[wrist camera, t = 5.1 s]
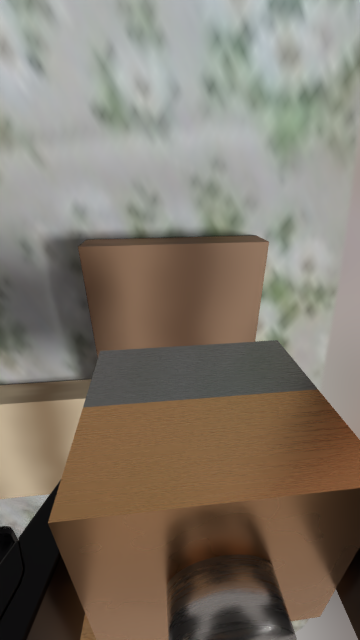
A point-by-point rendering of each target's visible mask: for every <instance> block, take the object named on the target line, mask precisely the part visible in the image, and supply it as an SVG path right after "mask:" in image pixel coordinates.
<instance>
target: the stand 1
mask: <svg viewBox="0 0 360 640" xmlns="http://www.w3.org/2000/svg"><path fill="white" fill-rule="evenodd" d="M90 383H91V379H86V380H71V381H56V382H41V383H26V384H11V385H0V499H6V498H16V497H26V496H36V495H46V494H51V492H52V491H53V490H54V488H55V487H56V485H57V484H58V483H59V481H60V480H61V478H62V475H63V472H64V468H65V465H66V462H67V458H68V455H69V452H70V449H71V445H72V442H73V439H74V435H75V432H76V429H77V425H78V422H79V419H80V416H81V412H82V409H83V406H84V402H85V399H86V396H87V393H88V389H89V386H90Z"/></svg>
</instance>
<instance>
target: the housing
mask: <svg viewBox="0 0 360 640" xmlns="http://www.w3.org/2000/svg"><path fill="white" fill-rule="evenodd" d="M48 524H49V527H50V529H51V532H52V534H53V537H54V539H55V541H56V544H57V546H58V549H59V551H60V553H61V556H62V558H63V561H64V563H65V565H66V568H67V570H68V573H69V575H70V577H71V580H72V582H73V585H74V587H75V590H76V592H77V594H78V597H79V599H80V602H81V604H82V606H83V609H84V611H85V614H86V616H87V618H88V621H89V623H90V626H91V628H92V630H93V633H94V635H95V638H96V640H296V635H295V632H294V629H293V626H292V623H291V621H295V620H302V619H308V618H315V617H320V615H321V614H322V612H323V610H324V608H325V607H326V605H327V603H328V602H329V600H330V598H331V596H332V594H333V593H334V591H335V589H336V588H337V586H338V584H339V582H340V581H341V579H342V577H343V575H344V574H345V572H346V570H347V568H348V567H349V565H350V563H351V561H352V560H353V558H354V556H355V554H356V553H357V551H358V549H359V548H360V440H359V439H358V437H357V436H356V435H355V434H354V433H353V431H352V430H351V429H350V428H349V427H348V425H347V424H346V423H345V422H344V420H343V419H342V418H341V417H340V416H339V414H338V413H337V412H336V411H335V409H334V408H333V407H332V406H331V405H330V403H329V402H328V401H327V400H326V399H325V397H324V396H323V395H322V394H321V393H320V391H319V390H318V389H317V388H316V386H315V385H314V384H313V383H312V382H311V380H310V379H309V378H308V377H307V376H306V374H305V373H304V372H303V371H302V370H301V368H300V367H299V366H298V365H297V363H296V362H295V361H294V360H293V359H292V357H291V356H290V355H289V354H288V353H287V351H286V350H285V349H284V348H283V347H282V345H281V344H280V343H279V342H278V340H275V341H259V342H242V343H225V344H209V345H192V346H175V347H159V348H142V349H126V350H109V351H100V353H99V356H98V360H97V363H96V366H95V369H94V373H93V376H92V379H91V383H90V386H89V389H88V393H87V396H86V399H85V402H84V406H83V409H82V412H81V416H80V419H79V422H78V425H77V429H76V432H75V435H74V439H73V442H72V445H71V449H70V452H69V455H68V458H67V462H66V465H65V468H64V472H63V475H62V478H61V481H60V485H59V488H58V491H57V495H56V498H55V501H54V505H53V508H52V511H51V514H50V518H49V521H48Z"/></svg>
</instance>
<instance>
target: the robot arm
mask: <svg viewBox="0 0 360 640" xmlns="http://www.w3.org/2000/svg"><path fill="white" fill-rule="evenodd" d="M60 481H61V480H60ZM60 481H59V483H58V484H57V485H56V487H55V488H54V490H53V491H52V492H51V494H50V495H49V496H48V498H47V499H46V501H45V502H44V503H43V505H42V506H41V508H40V509H39V510H38V512H37V513H36V514H35V516H34V517H33V519H32V520H31V521H30V523H29V524H28V526H27V527H26V528H25V530H24V531H23V533H22V534H21V535H20V537H19V540H18V539H17V537H16V535H15V533H14V531H13V530H12V529H0V640H80V638H81V633H82V627H83V622H84V617H85V611H84V609H83V606H82V604H81V602H80V599H79V597H78V594H77V592H76V590H75V587H74V585H73V582H72V580H71V577H70V575H69V573H68V570H67V568H66V565H65V563H64V561H63V558H62V556H61V553H60V551H59V549H58V546H57V544H56V541H55V539H54V537H53V534H52V532H51V529H50V527H49V524H48V521H49V518H50V514H51V511H52V508H53V505H54V501H55V498H56V495H57V491H58V488H59V485H60ZM336 590H337V592H338V595H339V597H340V599H341V601H342V604H343V606H344V608H345V610H346V613H347V615H348V617H349V619H350V622H351V624H352V626H353V629H354V631H355V633H356V635H357V638H358V640H360V548H359V549H358V551H357V553H356V554H355V556H354V558H353V560H352V561H351V563H350V565H349V567H348V568H347V570H346V572H345V574H344V575H343V577H342V579H341V581H340V582H339V584H338V586H337V588H336Z"/></svg>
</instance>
